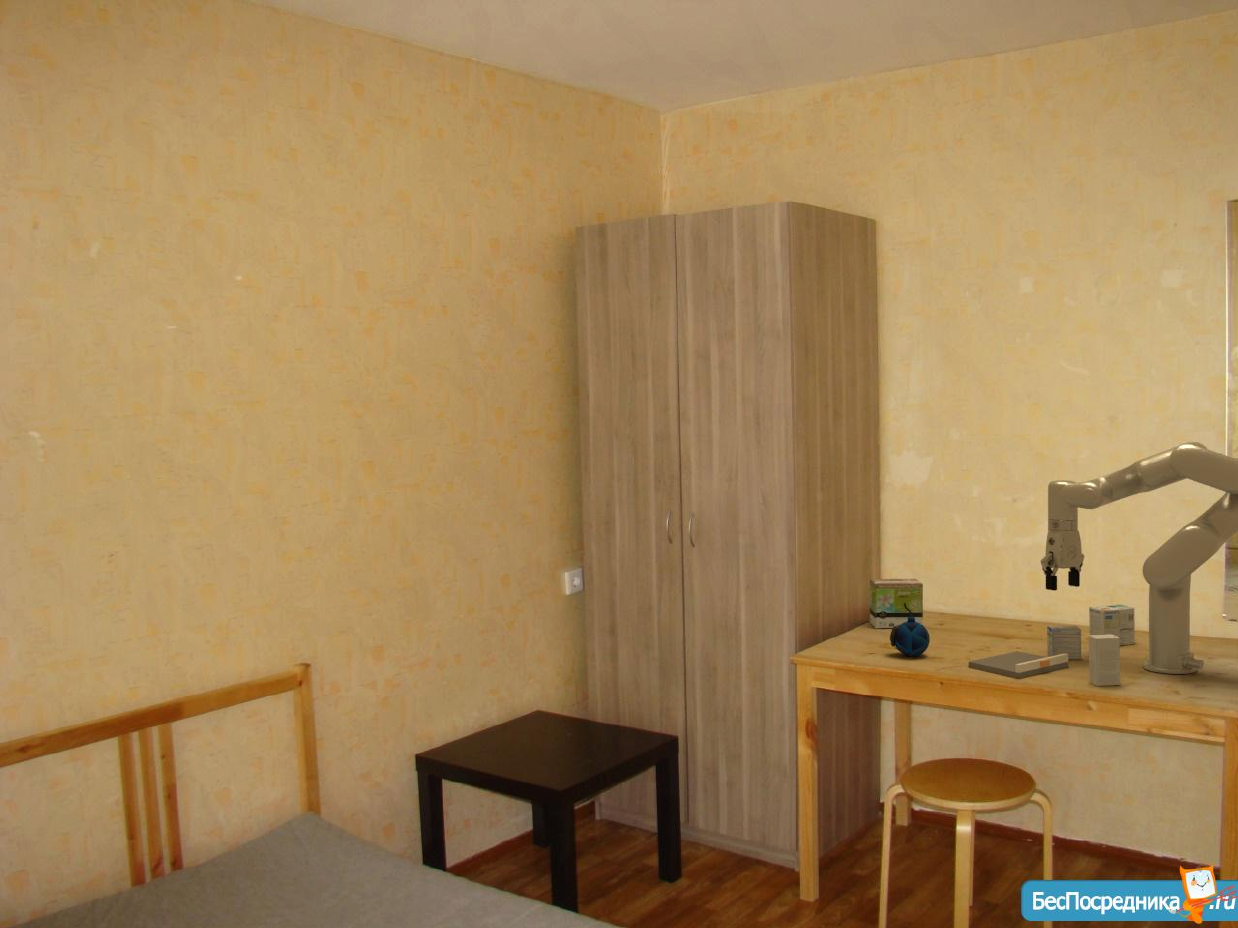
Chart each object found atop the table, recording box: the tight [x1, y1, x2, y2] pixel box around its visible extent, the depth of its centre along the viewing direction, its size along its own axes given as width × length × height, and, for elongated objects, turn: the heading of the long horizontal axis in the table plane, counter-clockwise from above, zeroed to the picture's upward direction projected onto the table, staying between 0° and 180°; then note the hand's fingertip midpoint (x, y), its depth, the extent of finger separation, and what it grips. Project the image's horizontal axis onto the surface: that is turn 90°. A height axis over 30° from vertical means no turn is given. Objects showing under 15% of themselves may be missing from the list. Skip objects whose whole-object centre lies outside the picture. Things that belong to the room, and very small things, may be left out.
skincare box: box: [1088, 634, 1121, 687], centre depth 269 cm, size 6×4×12 cm
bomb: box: [889, 603, 931, 657], centre depth 305 cm, size 10×11×15 cm
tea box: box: [869, 578, 924, 630], centre depth 347 cm, size 15×10×15 cm, turn 88°
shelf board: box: [968, 651, 1069, 679], centre depth 288 cm, size 17×20×4 cm
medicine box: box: [1046, 625, 1082, 661], centre depth 297 cm, size 8×4×9 cm, turn 84°
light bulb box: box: [1088, 603, 1136, 646], centre depth 313 cm, size 11×7×11 cm, turn 105°
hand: (1062, 587), depth 296 cm, fingers open, 9 cm apart
